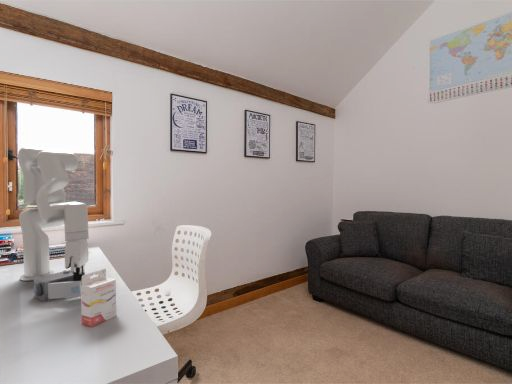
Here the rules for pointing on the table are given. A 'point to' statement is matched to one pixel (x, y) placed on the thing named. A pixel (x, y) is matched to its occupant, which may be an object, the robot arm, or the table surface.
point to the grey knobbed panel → (52, 278)
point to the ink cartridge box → (97, 298)
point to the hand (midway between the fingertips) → (79, 284)
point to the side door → (62, 289)
